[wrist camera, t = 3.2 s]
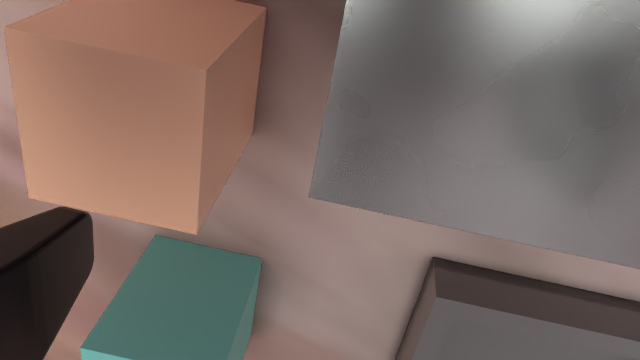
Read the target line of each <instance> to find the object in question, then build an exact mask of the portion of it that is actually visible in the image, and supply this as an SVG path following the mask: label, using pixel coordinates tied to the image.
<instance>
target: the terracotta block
mask: <svg viewBox="0 0 640 360" xmlns="http://www.w3.org/2000/svg"><path fill="white" fill-rule="evenodd" d="M266 10H267V7H263V6H258V5H254V4H249V3H244V2H239V1H234V0H70V1H68V2H65V3H63V4H60V5H58V6H55V7H53V8H50V9H48V10H45V11H43V12H40V13H38V14H35V15H33V16H30V17H28V18H25V19H23V20H20V21H18V22H15V23H13V24H10V25H8V26H5V27H4V34H5V41H6V47H7V54H8V61H9V68H10V74H11V81H12V88H13V95H14V101H15V108H16V115H17V122H18V129H19V135H20V142H21V149H22V156H23V162H24V169H25V176H26V183H27V189H28V196H29V198H31V199H36V200H40V201H45V202H49V203H54V204H58V205H63V206H67V207H72V208H76V209H81V210H86V211H90V212H95V213H99V214H104V215H108V216H113V217H117V218H122V219H126V220H131V221H136V222H140V223H145V224H149V225H154V226H158V227H163V228H167V229H172V230H176V231H181V232H186V233H190V234H195V235H197V234H198V232H199V230H200V228H201V226H202V224H203V223H204V221H205V219H206V217H207V215H208V214H209V212H210V210H211V208H212V206H213V205H214V203H215V201H216V199H217V197H218V196H219V194H220V192H221V190H222V188H223V187H224V185H225V183H226V181H227V179H228V178H229V176H230V174H231V172H232V170H233V169H234V167H235V165H236V163H237V161H238V160H239V158H240V156H241V154H242V152H243V151H244V149H245V147H246V145H247V143H248V142H249V140H250V138H251V136H252V132H253V124H254V115H255V106H256V97H257V89H258V80H259V71H260V63H261V54H262V45H263V36H264V28H265V19H266Z"/></svg>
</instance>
